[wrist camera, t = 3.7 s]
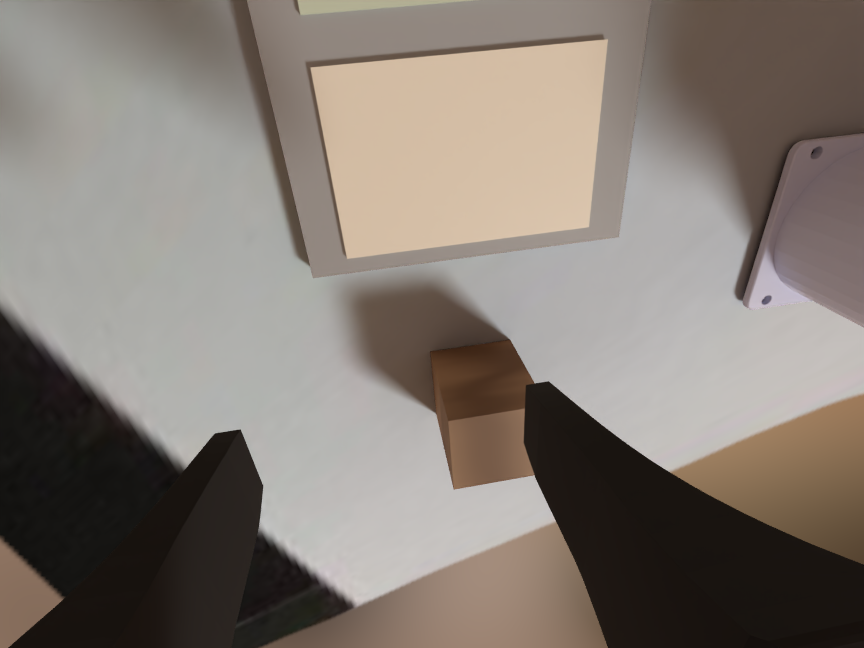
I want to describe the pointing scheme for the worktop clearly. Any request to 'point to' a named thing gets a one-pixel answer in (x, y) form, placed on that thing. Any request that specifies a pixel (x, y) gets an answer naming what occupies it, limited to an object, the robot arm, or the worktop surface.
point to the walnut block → (482, 412)
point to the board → (451, 123)
